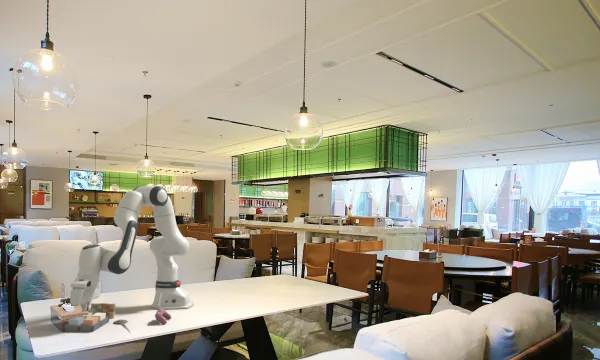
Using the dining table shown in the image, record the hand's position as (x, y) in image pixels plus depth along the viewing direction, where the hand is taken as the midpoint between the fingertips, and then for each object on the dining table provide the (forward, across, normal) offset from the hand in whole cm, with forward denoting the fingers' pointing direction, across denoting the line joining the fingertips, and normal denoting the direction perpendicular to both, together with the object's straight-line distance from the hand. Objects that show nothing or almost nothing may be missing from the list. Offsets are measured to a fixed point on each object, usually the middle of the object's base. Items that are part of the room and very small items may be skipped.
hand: (85, 311), depth 166 cm
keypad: (+7, +3, +3) cm, 8 cm away
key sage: (+4, 0, 0) cm, 4 cm away
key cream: (+4, 0, +6) cm, 7 cm away
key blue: (+4, +7, 0) cm, 8 cm away
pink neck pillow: (+7, -9, +32) cm, 34 cm away
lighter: (+7, -11, -14) cm, 19 cm away
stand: (+7, -10, +3) cm, 13 cm away
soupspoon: (+7, +2, +18) cm, 20 cm away
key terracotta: (+4, +7, +6) cm, 10 cm away
